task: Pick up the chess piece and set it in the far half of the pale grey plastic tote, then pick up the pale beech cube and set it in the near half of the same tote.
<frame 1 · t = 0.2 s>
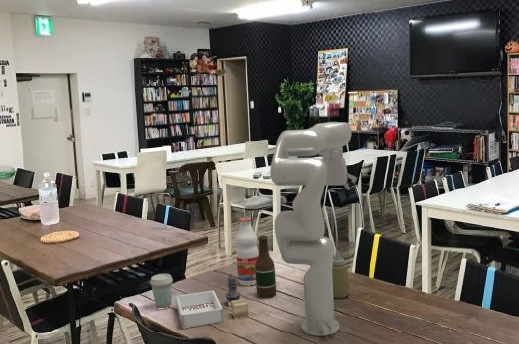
hand: (334, 199, 203), 37 cm above the table, tool pointing down, fingers open, 9 cm apart
squeeze bottle: (339, 296, 205), on the table
fruit juice: (249, 283, 227), on the table
chess piece: (233, 304, 205), on the table
beer bottle: (266, 295, 211), on the table
coffee cup: (163, 307, 206), on the table
beech cube: (240, 315, 193), on the table
tote: (199, 315, 196), on the table
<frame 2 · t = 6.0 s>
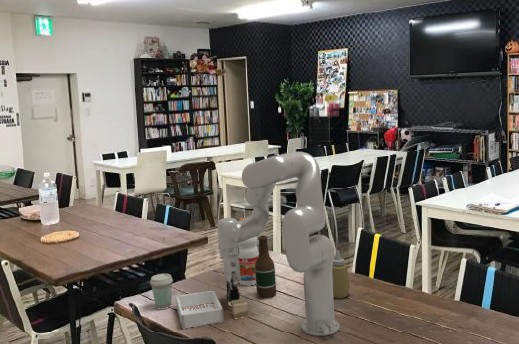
hand: (233, 295, 204), 3 cm above the table, tool pointing down, fingers closed on chess piece, 5 cm apart
chess piece: (233, 304, 205), on the table, touching gripper
everything else where it was.
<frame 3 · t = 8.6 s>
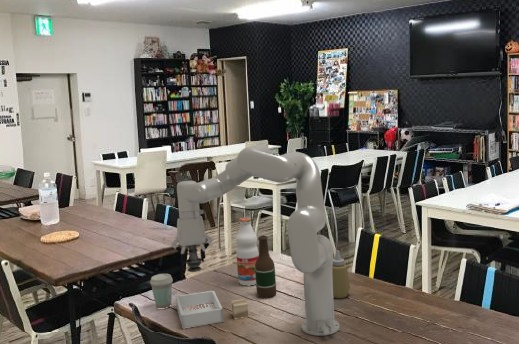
hand: (193, 261, 198), 19 cm above the table, tool pointing down, fingers closed on chess piece, 5 cm apart
chess piece: (194, 270, 198), point 16 cm above the table, touching gripper
everything else where it was.
when the fingers open (6 cm above the table, at t = 11.4 s): chess piece drops 2 cm, resting on tote.
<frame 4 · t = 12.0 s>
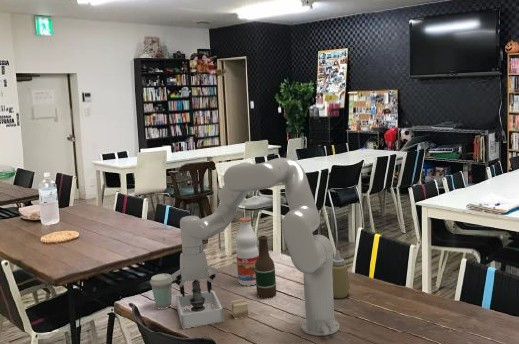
hand: (196, 293, 199), 7 cm above the table, tool pointing down, fingers open, 9 cm apart
chess piece: (198, 309, 200), resting on tote
everything else where it was.
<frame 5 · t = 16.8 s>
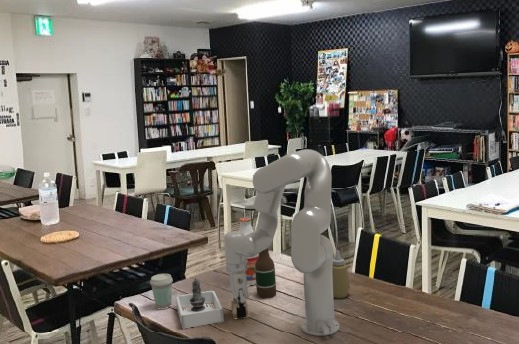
hand: (239, 314, 193), 0 cm above the table, tool pointing down, fingers closed on beech cube, 5 cm apart
beech cube: (240, 315, 193), on the table, touching gripper
everything else where it was.
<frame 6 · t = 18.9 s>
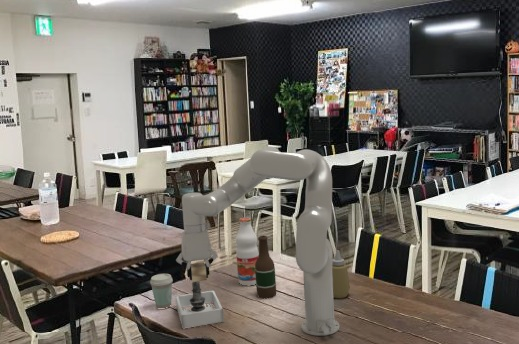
hand: (198, 277, 189), 16 cm above the table, tool pointing down, fingers closed on beech cube, 5 cm apart
beech cube: (198, 278, 189), point 15 cm above the table, touching gripper
everything else where it was.
when the fingers open (4 cm above the table, at t = 21.4 s): beech cube drops 3 cm, resting on tote.
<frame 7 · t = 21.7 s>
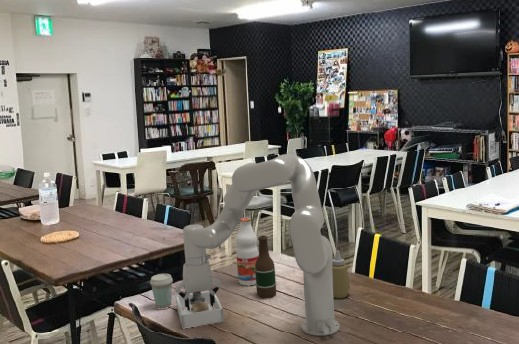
hand: (200, 306, 191), 5 cm above the table, tool pointing down, fingers open, 8 cm apart
beech cube: (201, 318, 191), point 1 cm above the table, touching tote
everything else where it was.
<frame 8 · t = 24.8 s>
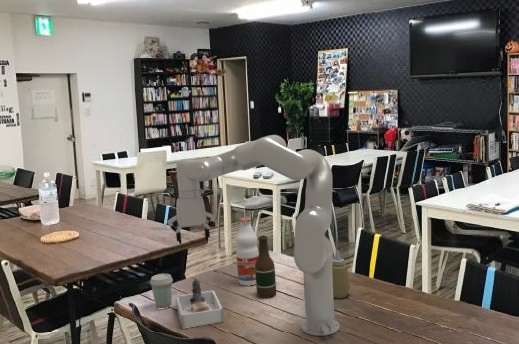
hand: (193, 241, 191), 28 cm above the table, tool pointing down, fingers open, 9 cm apart
nothing on the table moved.
at the end: chess piece inside the target area on the tote (4.9 cm from its centre), point 0.4 cm above the tote's base; beech cube inside the target area on the tote (4.5 cm from its centre), point 0.6 cm above the tote's base; the gripper is holding nothing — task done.
